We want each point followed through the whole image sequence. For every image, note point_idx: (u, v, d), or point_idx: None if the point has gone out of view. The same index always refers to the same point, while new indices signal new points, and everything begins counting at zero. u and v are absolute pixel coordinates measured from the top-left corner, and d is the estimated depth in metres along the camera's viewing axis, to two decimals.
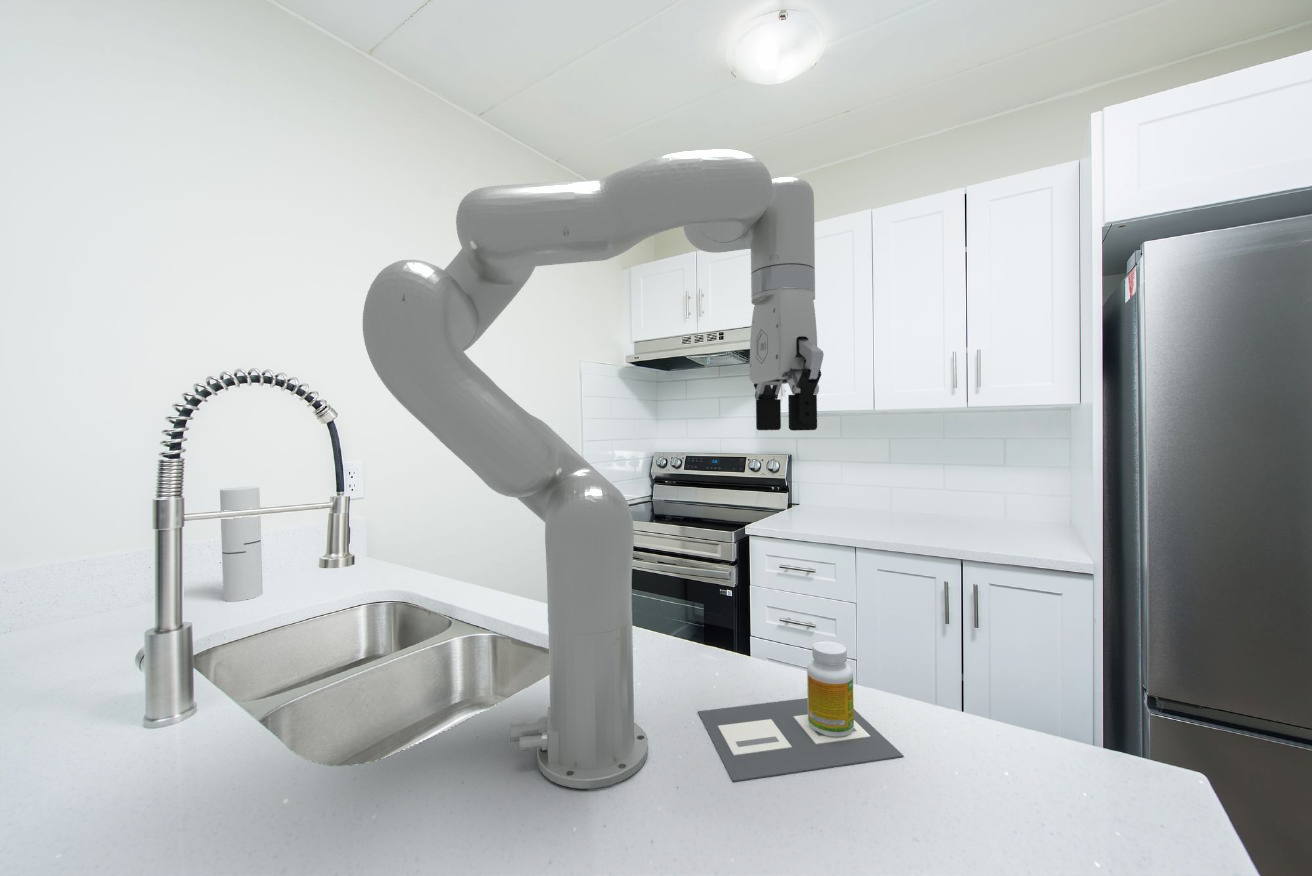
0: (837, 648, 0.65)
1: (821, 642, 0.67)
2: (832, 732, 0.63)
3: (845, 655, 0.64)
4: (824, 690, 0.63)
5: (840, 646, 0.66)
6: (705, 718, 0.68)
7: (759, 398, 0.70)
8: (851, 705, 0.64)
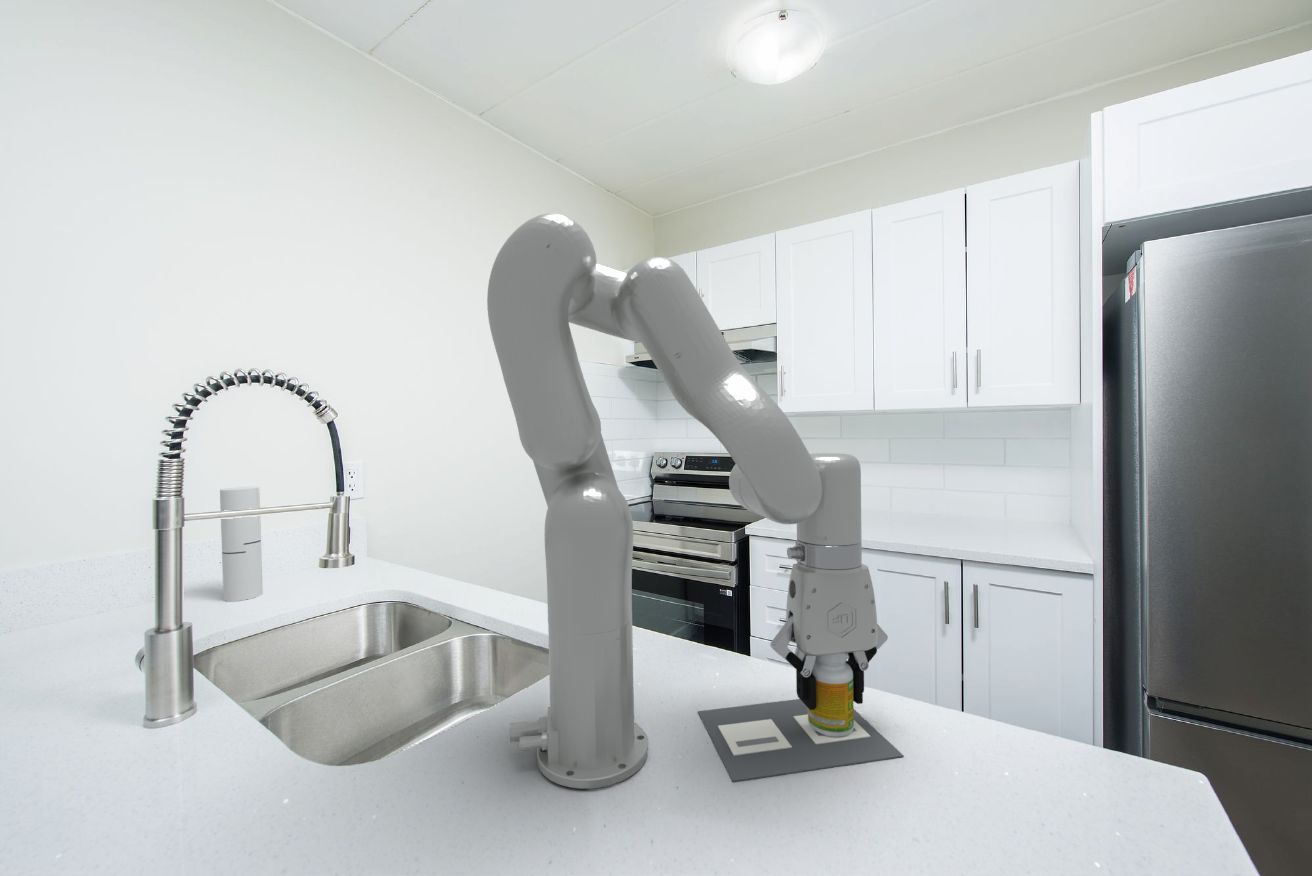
0: None
1: None
2: (832, 732, 0.63)
3: (845, 655, 0.64)
4: (824, 690, 0.63)
5: None
6: (705, 718, 0.68)
7: (809, 673, 0.64)
8: (851, 705, 0.64)
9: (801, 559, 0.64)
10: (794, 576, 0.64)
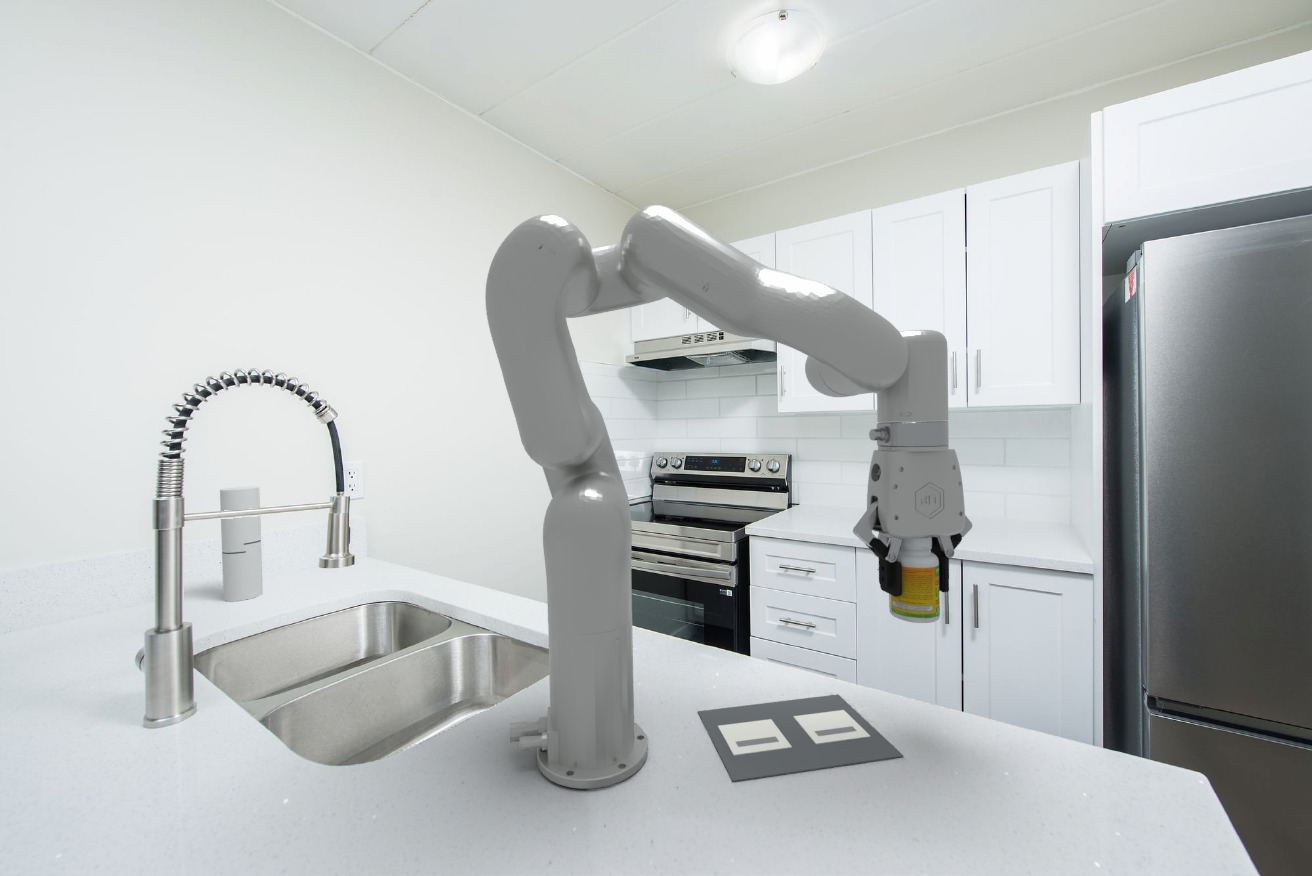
0: None
1: None
2: (919, 618, 0.60)
3: (931, 540, 0.62)
4: (910, 575, 0.61)
5: None
6: (705, 718, 0.68)
7: (894, 558, 0.61)
8: (938, 591, 0.61)
9: (885, 440, 0.61)
10: (877, 459, 0.62)
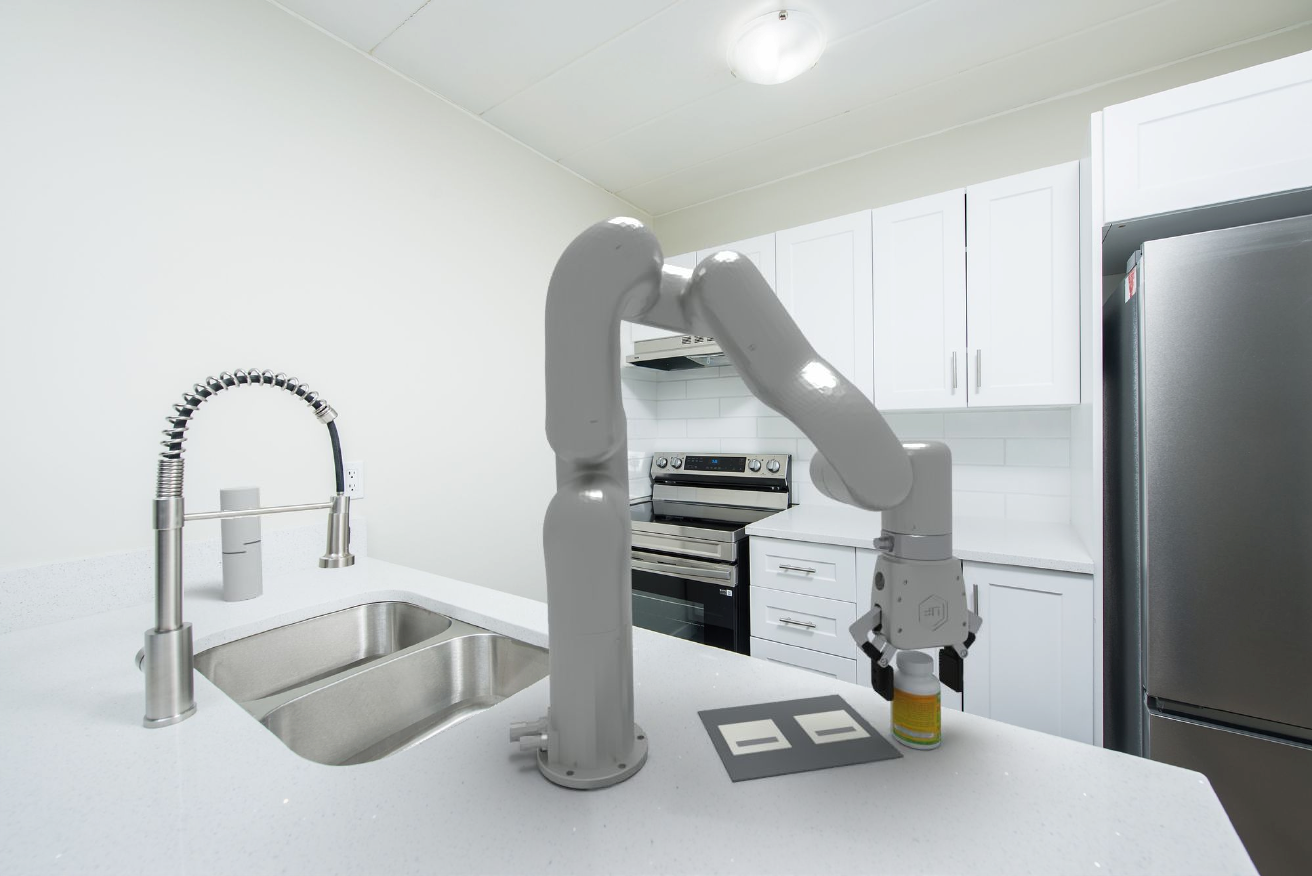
0: (923, 658, 0.63)
1: (904, 651, 0.64)
2: (921, 745, 0.61)
3: (933, 665, 0.62)
4: (912, 701, 0.61)
5: (926, 655, 0.63)
6: (705, 718, 0.68)
7: (885, 664, 0.61)
8: (939, 717, 0.61)
9: (889, 550, 0.61)
10: (881, 567, 0.62)
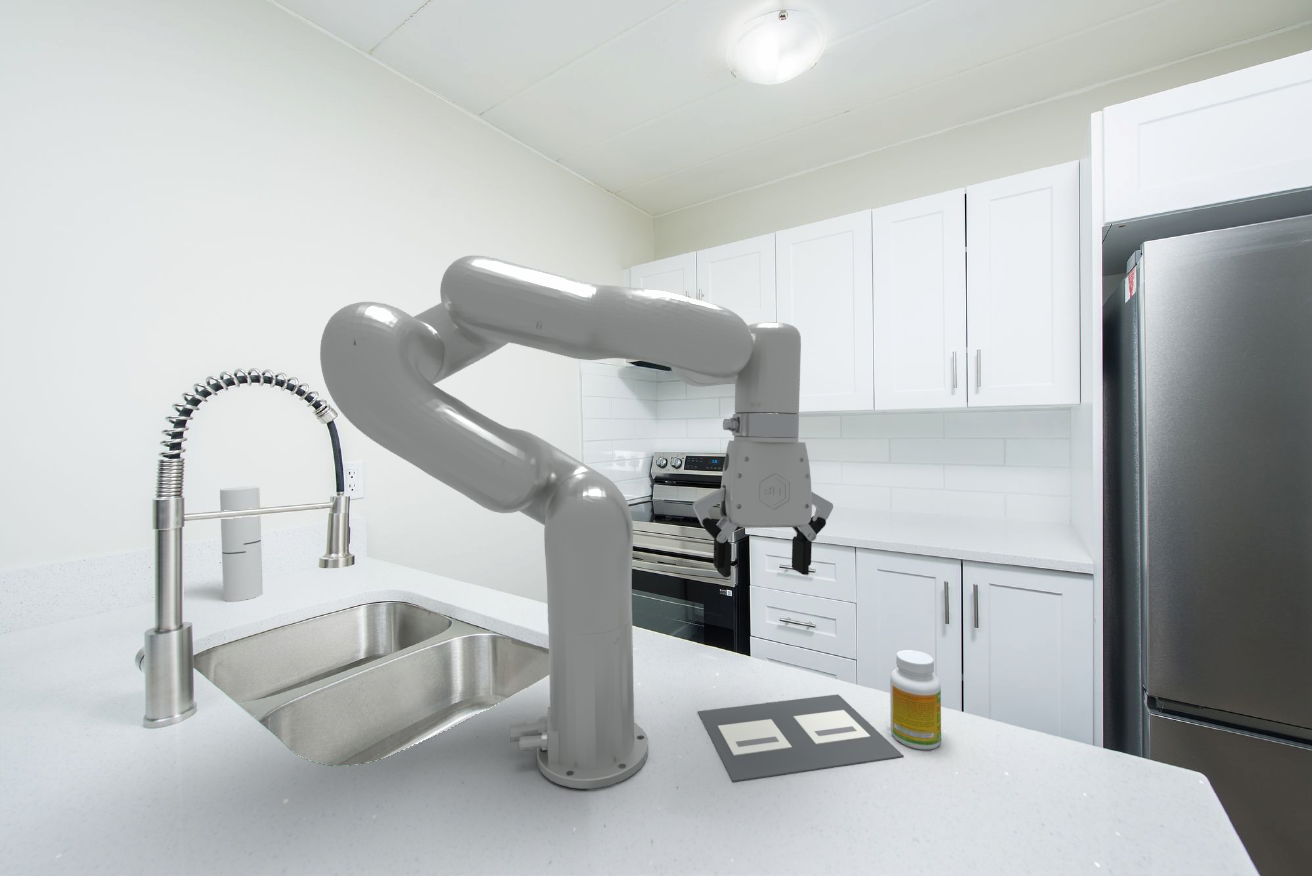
0: (924, 658, 0.63)
1: (904, 651, 0.65)
2: (921, 745, 0.61)
3: (933, 665, 0.62)
4: (912, 701, 0.61)
5: (926, 655, 0.63)
6: (705, 718, 0.68)
7: (724, 540, 0.61)
8: (939, 717, 0.61)
9: (736, 430, 0.62)
10: (728, 448, 0.62)
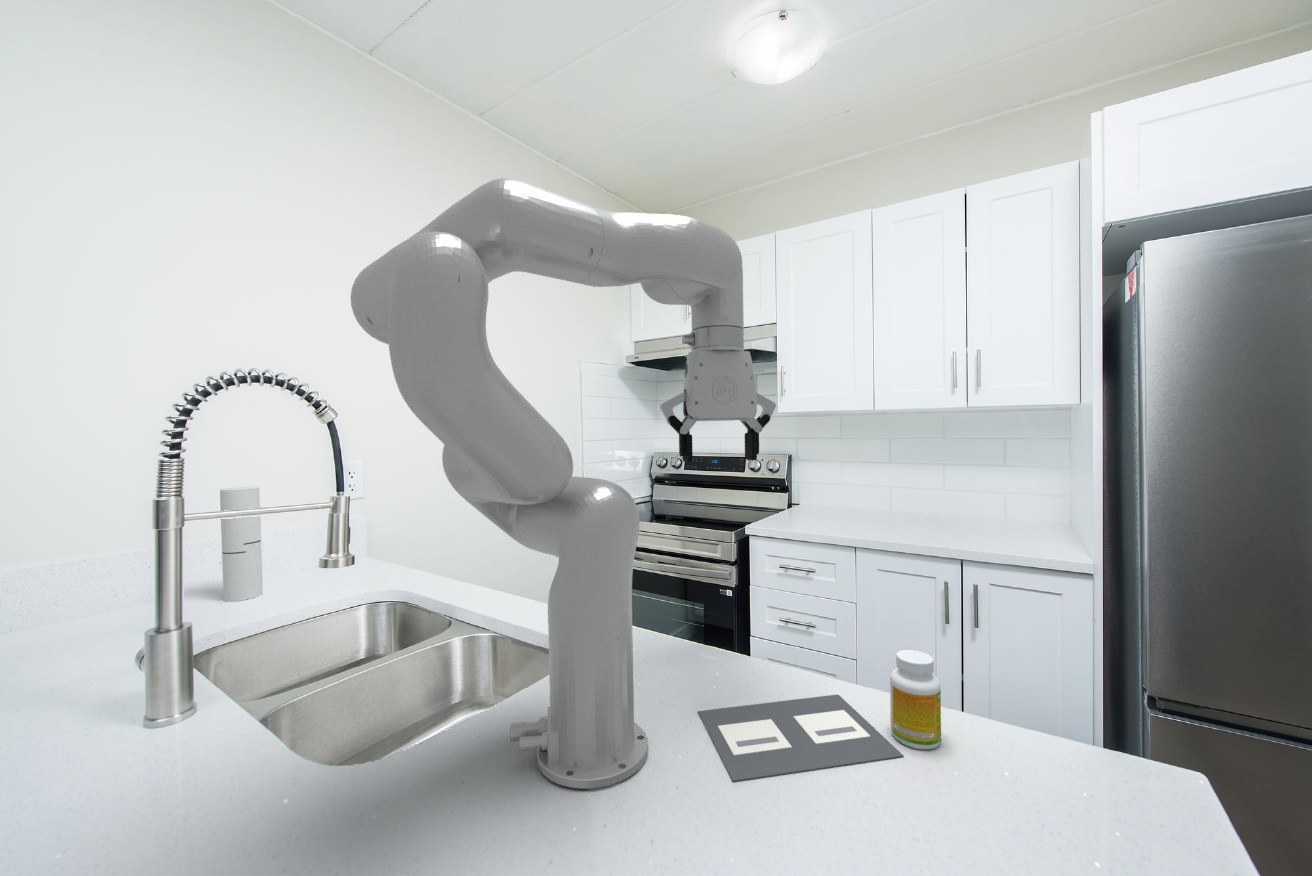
0: (923, 658, 0.63)
1: (904, 651, 0.65)
2: (921, 745, 0.61)
3: (933, 665, 0.62)
4: (912, 701, 0.61)
5: (926, 655, 0.63)
6: (705, 718, 0.68)
7: (686, 433, 0.76)
8: (939, 717, 0.61)
9: (692, 343, 0.76)
10: (687, 359, 0.77)
